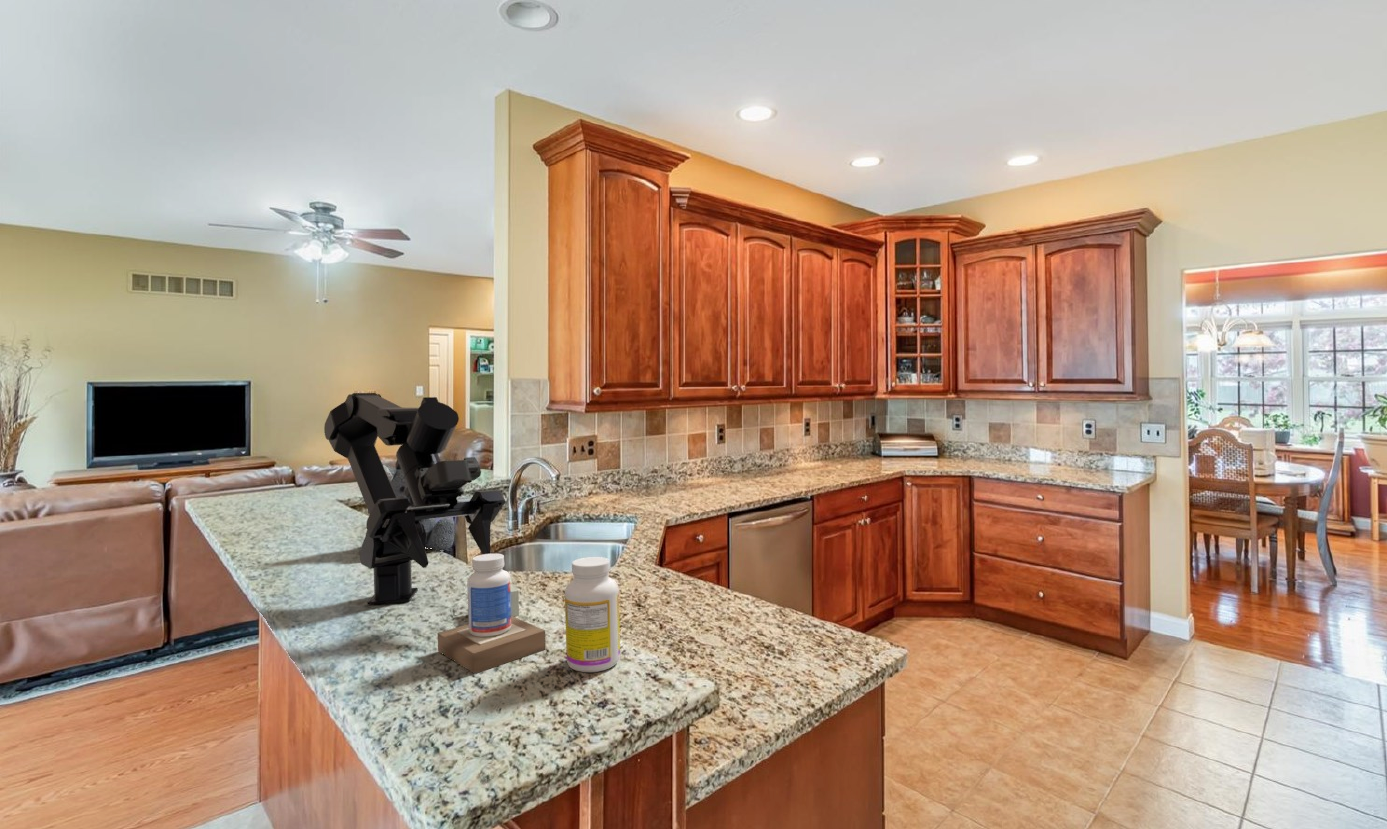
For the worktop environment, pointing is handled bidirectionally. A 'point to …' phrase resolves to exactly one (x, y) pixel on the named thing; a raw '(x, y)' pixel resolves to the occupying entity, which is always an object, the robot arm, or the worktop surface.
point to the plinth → (491, 645)
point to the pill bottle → (489, 596)
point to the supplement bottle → (592, 616)
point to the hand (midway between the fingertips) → (458, 560)
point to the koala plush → (436, 533)
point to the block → (514, 601)
